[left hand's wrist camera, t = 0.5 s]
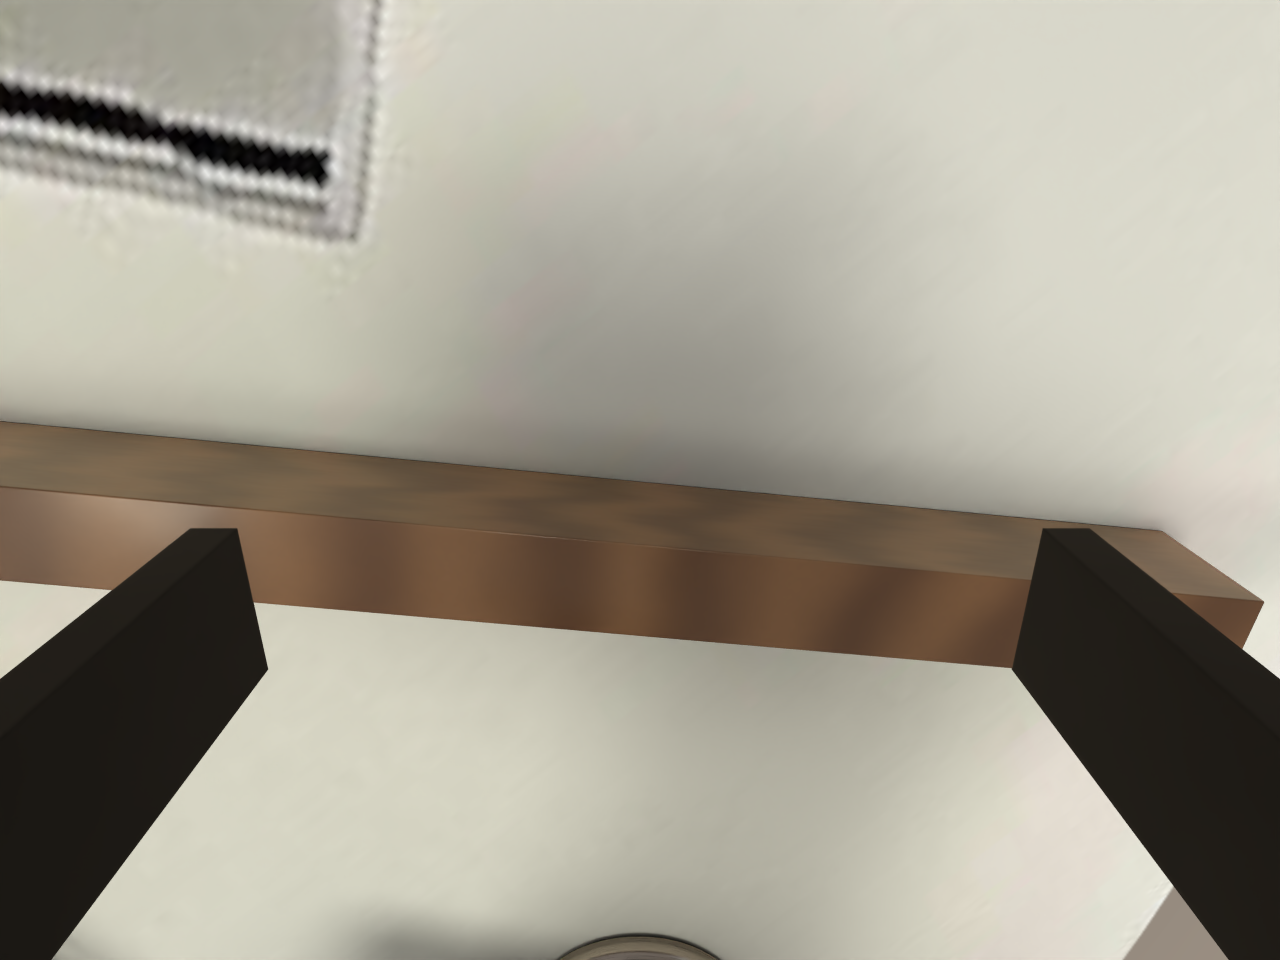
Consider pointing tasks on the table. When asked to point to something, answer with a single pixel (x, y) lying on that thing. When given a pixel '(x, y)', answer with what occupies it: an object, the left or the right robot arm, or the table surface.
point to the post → (555, 547)
